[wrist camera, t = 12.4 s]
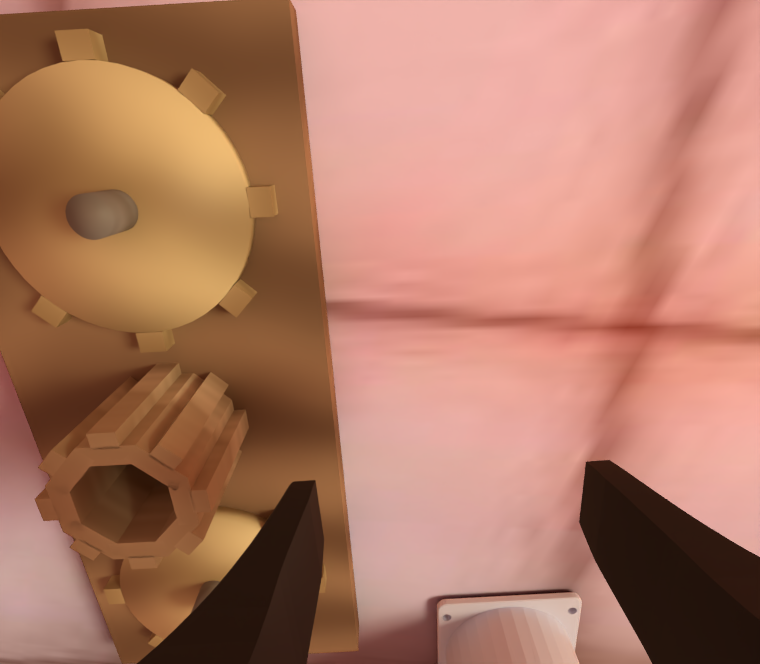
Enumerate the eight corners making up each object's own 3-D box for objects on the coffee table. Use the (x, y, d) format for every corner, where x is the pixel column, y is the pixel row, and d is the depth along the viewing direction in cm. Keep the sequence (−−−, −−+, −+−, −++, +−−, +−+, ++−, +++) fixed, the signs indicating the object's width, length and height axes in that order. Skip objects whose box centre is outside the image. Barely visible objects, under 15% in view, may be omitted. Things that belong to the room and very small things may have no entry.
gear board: (358, 624, 27) (356, 701, 23) (135, 636, 27) (96, 715, 23) (295, 10, 16) (272, -34, 12) (-84, 33, 16) (-225, -4, 12)
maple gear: (257, 471, 21) (224, 564, 16) (133, 478, 21) (65, 572, 16) (236, 359, 19) (191, 428, 14) (99, 367, 19) (9, 438, 14)
